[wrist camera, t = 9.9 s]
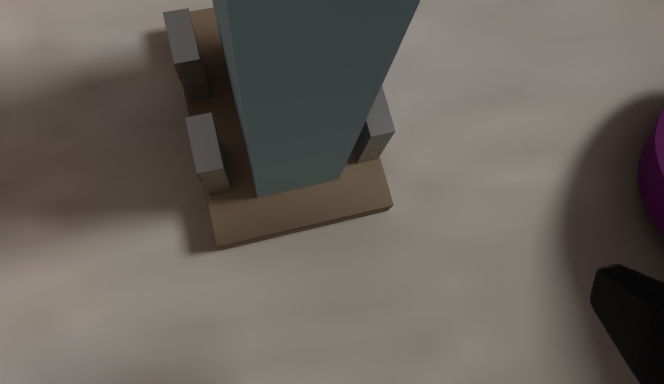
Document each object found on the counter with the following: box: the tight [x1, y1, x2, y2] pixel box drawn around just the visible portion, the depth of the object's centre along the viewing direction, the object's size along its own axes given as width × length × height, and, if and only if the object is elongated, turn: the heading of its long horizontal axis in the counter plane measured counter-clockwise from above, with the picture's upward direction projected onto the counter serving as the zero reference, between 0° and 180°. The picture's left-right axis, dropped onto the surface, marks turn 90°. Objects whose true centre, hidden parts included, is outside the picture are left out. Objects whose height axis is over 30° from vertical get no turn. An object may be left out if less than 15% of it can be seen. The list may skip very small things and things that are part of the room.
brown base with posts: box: [163, 8, 395, 250], centre depth 19 cm, size 9×6×4 cm
